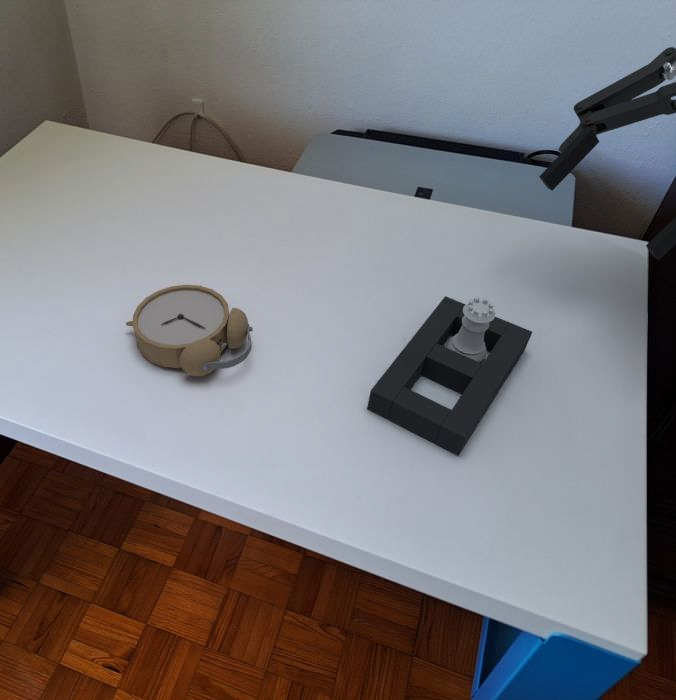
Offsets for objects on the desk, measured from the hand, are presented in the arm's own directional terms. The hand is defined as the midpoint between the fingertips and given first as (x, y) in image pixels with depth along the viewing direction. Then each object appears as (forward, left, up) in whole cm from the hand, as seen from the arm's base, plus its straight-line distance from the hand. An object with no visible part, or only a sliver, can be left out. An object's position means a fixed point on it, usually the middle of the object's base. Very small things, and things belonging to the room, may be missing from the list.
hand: (595, 216), depth 69 cm
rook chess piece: (+6, +11, -15) cm, 20 cm away
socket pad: (+6, +15, -15) cm, 22 cm away
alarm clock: (+32, +27, -15) cm, 44 cm away
